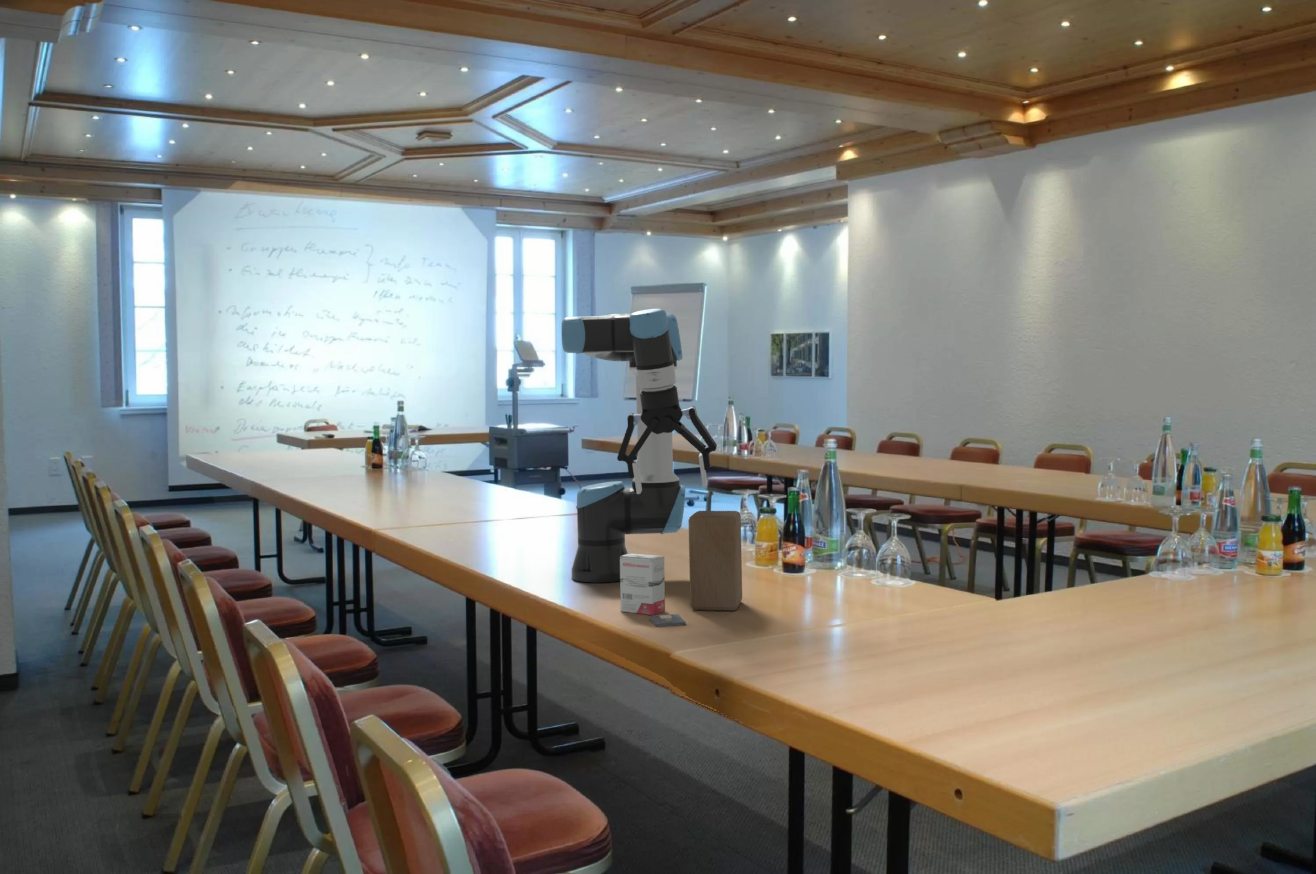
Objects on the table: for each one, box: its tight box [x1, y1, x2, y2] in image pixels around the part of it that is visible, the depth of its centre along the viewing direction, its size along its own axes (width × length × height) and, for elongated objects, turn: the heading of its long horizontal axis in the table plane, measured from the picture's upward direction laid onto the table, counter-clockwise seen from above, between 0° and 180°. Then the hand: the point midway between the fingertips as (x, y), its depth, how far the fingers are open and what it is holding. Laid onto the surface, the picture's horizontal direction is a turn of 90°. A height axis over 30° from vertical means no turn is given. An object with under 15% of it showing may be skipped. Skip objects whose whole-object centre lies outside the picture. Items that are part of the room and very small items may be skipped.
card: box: [648, 613, 687, 628], centre depth 213 cm, size 7×6×1 cm
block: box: [688, 510, 743, 612], centre depth 226 cm, size 10×10×20 cm
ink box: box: [619, 553, 666, 616], centre depth 223 cm, size 9×5×12 cm, turn 58°
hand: (672, 488), depth 216 cm, fingers open, 13 cm apart
